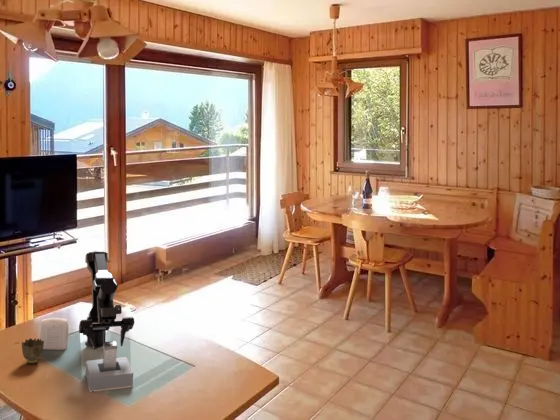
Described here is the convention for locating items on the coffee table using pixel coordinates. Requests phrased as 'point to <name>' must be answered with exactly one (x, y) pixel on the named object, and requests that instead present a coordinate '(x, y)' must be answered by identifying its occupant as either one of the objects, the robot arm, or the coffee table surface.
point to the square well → (108, 375)
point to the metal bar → (109, 356)
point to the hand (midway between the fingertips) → (108, 347)
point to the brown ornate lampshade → (32, 350)
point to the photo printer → (54, 333)
